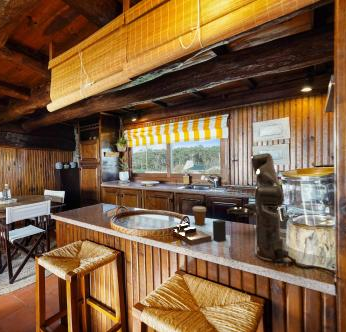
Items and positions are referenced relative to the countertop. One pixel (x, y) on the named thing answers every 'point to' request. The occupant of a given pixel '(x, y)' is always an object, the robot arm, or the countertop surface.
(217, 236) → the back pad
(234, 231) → the countertop surface
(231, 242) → the countertop surface
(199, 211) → the disposable coffee cup
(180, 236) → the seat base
